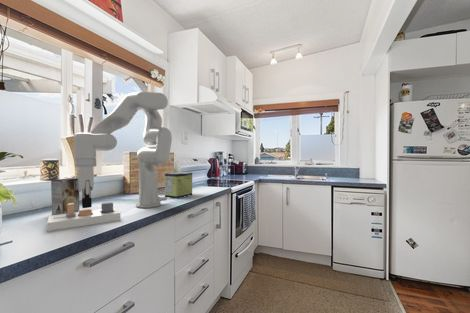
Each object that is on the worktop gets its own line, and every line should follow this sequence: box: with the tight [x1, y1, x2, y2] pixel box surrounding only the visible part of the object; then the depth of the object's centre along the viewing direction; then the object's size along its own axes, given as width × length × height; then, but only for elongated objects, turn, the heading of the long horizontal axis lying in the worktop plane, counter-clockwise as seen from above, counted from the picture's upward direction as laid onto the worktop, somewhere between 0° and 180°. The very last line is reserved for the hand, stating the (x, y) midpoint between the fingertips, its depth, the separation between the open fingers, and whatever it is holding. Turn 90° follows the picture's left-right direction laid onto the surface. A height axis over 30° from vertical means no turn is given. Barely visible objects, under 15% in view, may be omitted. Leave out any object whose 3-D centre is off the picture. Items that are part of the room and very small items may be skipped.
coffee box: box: [50, 177, 80, 216], centre depth 110 cm, size 9×6×16 cm
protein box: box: [164, 171, 193, 199], centre depth 154 cm, size 10×16×16 cm
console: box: [47, 207, 121, 232], centre depth 96 cm, size 24×12×3 cm, turn 127°
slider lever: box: [66, 203, 76, 217], centre depth 93 cm, size 3×4×5 cm
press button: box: [78, 208, 92, 217], centre depth 96 cm, size 4×4×4 cm
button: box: [101, 202, 114, 213], centre depth 100 cm, size 4×4×4 cm
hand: (86, 207), depth 96 cm, fingers closed
